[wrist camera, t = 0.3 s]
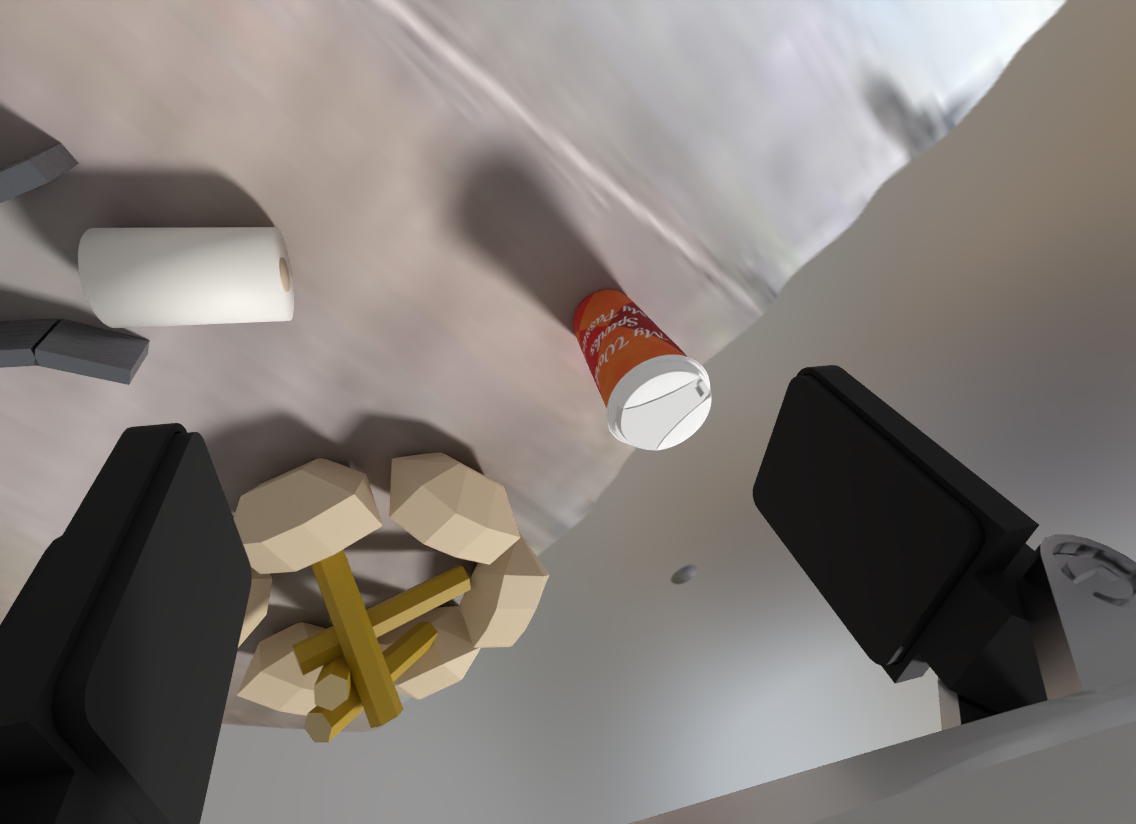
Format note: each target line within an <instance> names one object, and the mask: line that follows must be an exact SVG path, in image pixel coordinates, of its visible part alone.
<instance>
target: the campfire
mask: <svg viewBox="0 0 1136 824" xmlns="http://www.w3.org/2000/svg"><path fill="white" fill-rule="evenodd" d="M389 518H391V519H392V520H393V521H395V522H396V523H397V524H398V525H400V526H401V527H402V528H403V529H405V530H406V531H407V532H409V533H410V534H411V535H412V536H414V537H415V538H416V539H417V540H419V541H420V542H421V543H423V544H424V545H427V546H429V547H432V548H434V549H437V550H439V551H441V552H444V553H446V554H449V555H451V556H454V557H457V558H461V559H466V560H470V561H475V562H479V563H478V565H477V566H476V568H475V570H474V572H473V574H472V577H471V579H470V578H469V576H468V575H467V573H466V571H465V569H464V567H463V566H456V567H454V568H452V569H450V570H448V571H446V572H443V573H441V574H439V575H437V576H435V577H433V578H431V579H429V580H427V581H425V582H423V583H421V584H419V585H416V586H414V587H412V588H410V589H408V590H406V591H404V592H402V593H400V594H398V595H396V596H394V597H392V598H389V599H387V600H385V601H383V602H381V603H379V604H377V605H375V606H373V607H371V608H369V609H367V610H366V609H365V606H364V603H363V601H362V598H361V595H360V593H359V590H358V587H357V585H356V582H355V579H354V577H353V574H352V571H351V569H350V566H349V563H348V561H347V558H346V555H345V553H344V550H343V549H344V548H346V547H348V546H349V545H351V544H353V543H354V542H356V541H358V540H359V539H361V538H363V537H365V536H366V535H368V534H370V533H371V532H373V531H375V530H376V529H378V528H380V527H381V526H383V525H382V522H381V519H380V516H379V513H378V509H377V506H376V503H375V500H374V497H373V494H372V491H371V488H370V485H369V482H368V478H367V475H366V474H365V473H362V472H359V471H357V470H354V469H351V468H349V467H346V466H343V465H341V464H338V463H335V462H333V461H330V460H327V459H323V458H318V459H315V460H313V461H311V462H308V463H306V464H304V465H302V466H299V467H297V468H295V469H293V470H290V471H288V472H286V473H283V474H281V475H279V476H277V477H274V478H272V479H270V480H268V481H265V482H263V483H262V484H260V485H258V486H257V487H255V488H253V489H252V490H250V491H248V492H247V493H245V494H243V495H242V496H241V497H240V500H239V503H238V506H237V509H236V512H235V515H234V518H233V519H234V521H235V524H236V527H237V529H238V532H239V535H240V537H241V540H242V543H243V545H244V548H245V551H246V553H247V556H248V559H249V561H250V565H251V572H252V583H251V590H250V594H249V599H248V603H247V608H246V613H245V617H244V622H243V626H242V631H241V636H240V640H239V645H238V647H239V646H240V645H241V644H242V643H243V642H244V640H245V639H246V638H247V637H248V636H249V635H250V633H251V632H252V631H253V630H254V629H255V628H256V626H257V625H258V624H259V623H260V622H261V621H262V619H263V618H264V617H265V616H266V615H267V609H268V603H269V597H270V591H271V586H272V580H273V578H272V577H271V575H270V573H282V572H296V571H298V570H300V569H302V568H305V567H307V566H309V565H311V566H312V569H313V571H314V574H315V577H316V580H317V582H318V585H319V588H320V590H321V593H322V596H323V599H324V601H325V604H326V607H327V610H328V612H329V615H330V618H331V620H332V623H333V626H331V627H329V628H323V627H319V626H316V625H312V624H308V623H304V622H300V623H296V624H294V625H292V626H290V627H288V628H286V629H284V630H282V631H280V632H278V633H276V634H274V635H272V636H270V637H268V638H266V639H264V640H262V641H260V642H259V644H258V646H257V649H256V651H255V653H254V656H253V658H252V660H251V663H250V665H249V667H248V670H247V672H246V674H245V677H244V679H243V681H242V684H241V686H240V689H239V691H238V693H237V696H240V697H242V698H245V699H248V700H250V701H253V702H256V703H258V704H261V705H264V706H266V707H269V708H272V709H274V710H277V711H282V712H288V713H294V714H300V715H307V718H306V722H305V726H304V728H305V730H306V731H307V732H308V734H309V735H310V737H311V738H312V739H313V741H314V742H329V741H330V740H331V739H332V738H333V737H334V736H336V735H337V734H338V733H339V732H340V731H341V730H342V729H343V728H344V727H345V726H346V725H348V724H349V723H350V722H351V721H352V720H353V719H354V718H355V717H356V716H357V715H358V714H359V713H360V712H362V711H363V710H365V713H366V716H367V718H368V721H369V724H370V726H371V728H373V727H378V726H382V725H383V724H385V723H387V722H389V721H390V720H392V719H394V718H396V717H397V716H398V715H399V714H400V713H401V712H402V710H403V707H402V704H401V702H400V699H399V696H398V694H397V692H399V693H402V694H405V695H407V696H410V697H413V698H415V699H418V700H420V699H422V698H424V697H426V696H428V695H430V694H432V693H435V692H437V691H439V690H441V689H443V688H445V687H448V686H449V685H452V684H454V683H456V682H458V681H460V680H462V678H463V677H464V675H465V673H466V672H467V670H468V668H469V667H470V665H471V663H472V662H473V660H474V658H475V657H476V655H477V654H478V652H479V650H480V649H481V647H511V646H512V645H513V644H514V643H515V641H516V640H517V639H518V637H520V635H521V634H522V633H523V632H524V631H525V629H526V627H527V625H528V623H529V622H530V620H531V618H532V616H533V614H534V612H535V610H536V608H537V605H538V602H539V600H540V597H541V594H542V592H543V589H544V586H545V584H546V581H547V579H548V577H549V574H548V572H547V571H546V569H545V568H544V566H543V565H542V564H541V562H540V561H539V559H538V558H537V556H536V555H535V554H534V552H533V551H532V549H531V548H530V547H529V545H528V544H527V542H526V541H525V540H524V538H523V537H522V535H521V534H520V532H519V531H518V528H517V525H516V522H515V519H514V516H513V513H512V510H511V507H510V504H509V501H508V498H507V495H506V492H505V489H504V487H503V486H501V485H500V484H498V483H496V482H495V481H493V480H491V479H489V478H488V477H486V476H484V475H483V474H481V473H479V472H477V471H475V470H473V469H471V468H470V467H468V466H466V465H464V464H462V463H460V462H458V461H457V460H455V459H453V458H451V457H449V456H447V455H445V454H444V453H442V452H438V453H426V454H420V455H413V456H406V457H399V458H392V465H391V490H390V514H389ZM463 593H464V596H463V598H462V600H461V603H460V607H461V609H460V608H459V607H458V606H452V607H438V606H440V605H442V604H443V603H445V602H447V601H449V600H451V599H453V598H455V597H457V596H459V595H461V594H463ZM377 637H378V638H377Z"/></svg>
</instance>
